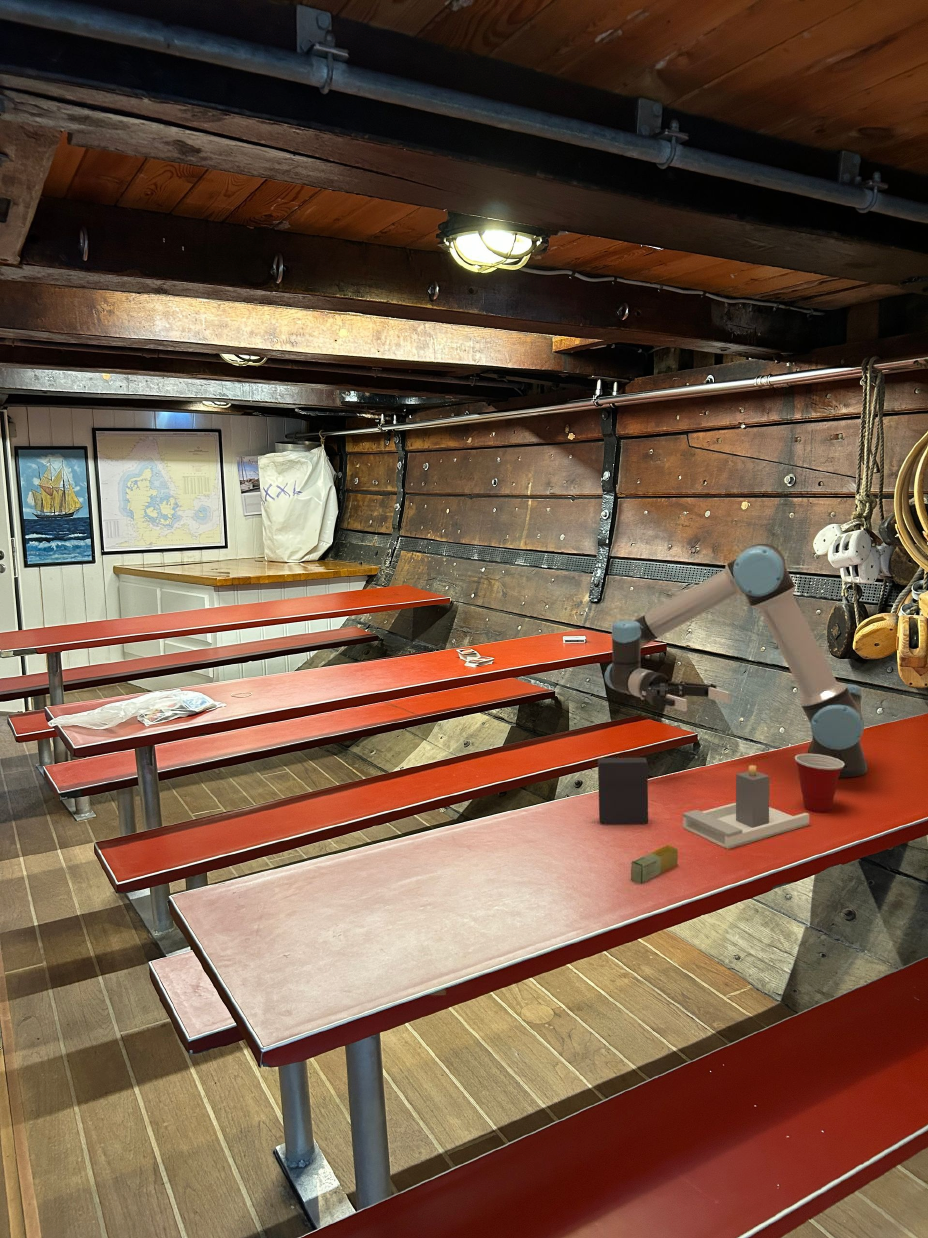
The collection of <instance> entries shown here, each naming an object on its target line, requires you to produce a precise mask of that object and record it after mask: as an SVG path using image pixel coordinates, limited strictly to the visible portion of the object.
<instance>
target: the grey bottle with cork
mask: <svg viewBox="0 0 928 1238" xmlns="http://www.w3.org/2000/svg"><path fill="white" fill-rule="evenodd" d="M735 803H736V821H738V822H740V823H742V824H745V825H747V826H749V827H751V828H754V827H758V826H761V825H765V824H768V823H769V807H770V775H767V774H765V773H762V772H759V771H757V765H753V764H751V765H749V766H748V770H747V771H744V772H739V773H736V774H735Z"/></svg>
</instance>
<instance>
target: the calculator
mask: <svg viewBox="0 0 928 1238" xmlns="http://www.w3.org/2000/svg"><path fill="white" fill-rule="evenodd" d="M648 767H649V764H648V761H647V758H646V757H600V758H598V759H597V776H598V777H597V781H598V782H597V783H598V814H599V815H598V820H599V824H600V825H648V824H649V789H648V788H649V784H648V783H649V782H648V781H649V770H648V769H649V768H648Z"/></svg>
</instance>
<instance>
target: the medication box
mask: <svg viewBox="0 0 928 1238" xmlns="http://www.w3.org/2000/svg"><path fill="white" fill-rule="evenodd" d="M678 852H679V849H678V848H677V847H674V846H671V845H668V844H666V845H665V846H662V847H661V848H658V849H657V850H655V851H653V852H650V853H648V854H646V855H644V856H641V857H639V858H637V859H635V860H632V861H631V864H630V865H631V867H630V880H631V881H633V882H635V883H637V884H643V883H645V882H647V881H649V880H651V879H653V878H654V877H657V876H658V875H660V874H662V873H665V872H666V871H668V870H670V869H673V868H674V867H676V866H678V855H679V854H678Z"/></svg>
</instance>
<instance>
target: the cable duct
mask: <svg viewBox="0 0 928 1238" xmlns="http://www.w3.org/2000/svg"><path fill="white" fill-rule="evenodd" d="M809 825H810V813H807V812H803V813H800V814H796V815H790V814H788V813H785V812H783V811H781V810H779V809H775V808H773V807H771V806H769V823H768V824H765V825H761V826H758V827H754V828H751V827H749V826H747V825H745V824H742V823H740V822H738V821H736V802H734V803H729V804H725V805H722V806H719V807H718V806H717V807H714V808H711V809H706V810H703V811H701V810H699V809H693V810H691V811H690V810H689V811H686V812H683V813H682V828H683V829H685V830H687V831H689V832H691V833H694V834H695V835H698V837H699V836H700V837H702V838H703V839H706V840H708V841H710V842H712V843H714V844H717V845H718V846H720V847H723V848H724V849H726V850H730V849H733V848H737V847H741V846H744V845H748V844H750V843H753V842H757V841H761V840H764V839H768V838H770V837H775V836H777V835H781V834H784V833H788V832H790V831H791V832H792V831H794V830H797V829H801V828H805V827H808V826H809Z"/></svg>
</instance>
